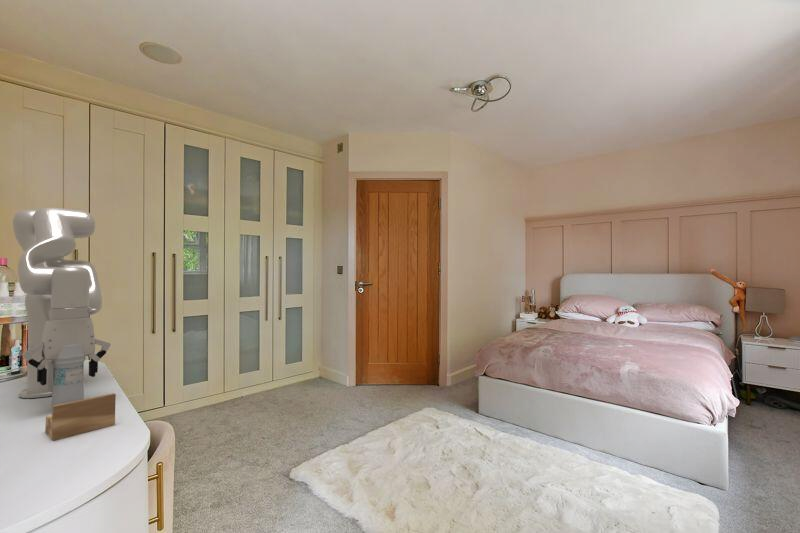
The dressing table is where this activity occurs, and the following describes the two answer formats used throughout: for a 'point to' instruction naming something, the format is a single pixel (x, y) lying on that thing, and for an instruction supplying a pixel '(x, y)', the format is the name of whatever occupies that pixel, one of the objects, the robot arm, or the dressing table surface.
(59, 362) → the bottle
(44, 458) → the dressing table surface
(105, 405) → the wooden u-shaped piece
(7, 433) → the dressing table surface
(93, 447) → the dressing table surface
